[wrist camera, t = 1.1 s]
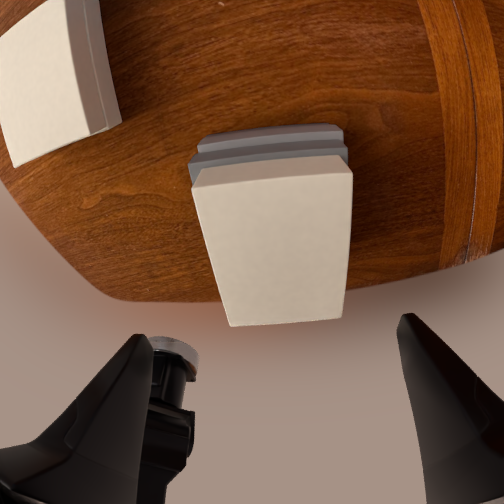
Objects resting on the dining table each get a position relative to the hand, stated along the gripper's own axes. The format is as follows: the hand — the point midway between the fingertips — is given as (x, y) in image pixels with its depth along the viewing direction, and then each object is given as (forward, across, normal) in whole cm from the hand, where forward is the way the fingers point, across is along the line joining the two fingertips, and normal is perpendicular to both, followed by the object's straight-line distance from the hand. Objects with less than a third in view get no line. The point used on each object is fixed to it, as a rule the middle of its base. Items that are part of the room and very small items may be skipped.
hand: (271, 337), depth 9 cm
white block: (+6, 0, 0) cm, 6 cm away
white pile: (+11, +12, -11) cm, 19 cm away
